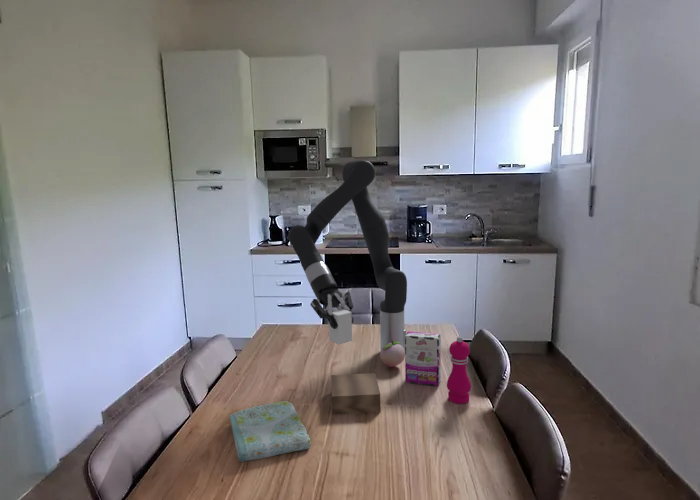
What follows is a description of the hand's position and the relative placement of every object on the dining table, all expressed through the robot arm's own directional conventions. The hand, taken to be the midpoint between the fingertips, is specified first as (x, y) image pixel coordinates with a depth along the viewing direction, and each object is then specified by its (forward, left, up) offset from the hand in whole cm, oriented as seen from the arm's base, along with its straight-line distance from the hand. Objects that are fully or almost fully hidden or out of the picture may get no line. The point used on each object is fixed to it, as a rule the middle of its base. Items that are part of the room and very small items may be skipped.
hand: (343, 325), depth 134 cm
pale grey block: (+1, -2, -5) cm, 6 cm away
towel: (+24, +13, -25) cm, 37 cm away
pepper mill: (-33, +9, -24) cm, 42 cm away
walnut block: (-2, +2, -24) cm, 25 cm away
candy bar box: (-27, -5, -24) cm, 37 cm away
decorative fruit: (-21, -18, -24) cm, 37 cm away
